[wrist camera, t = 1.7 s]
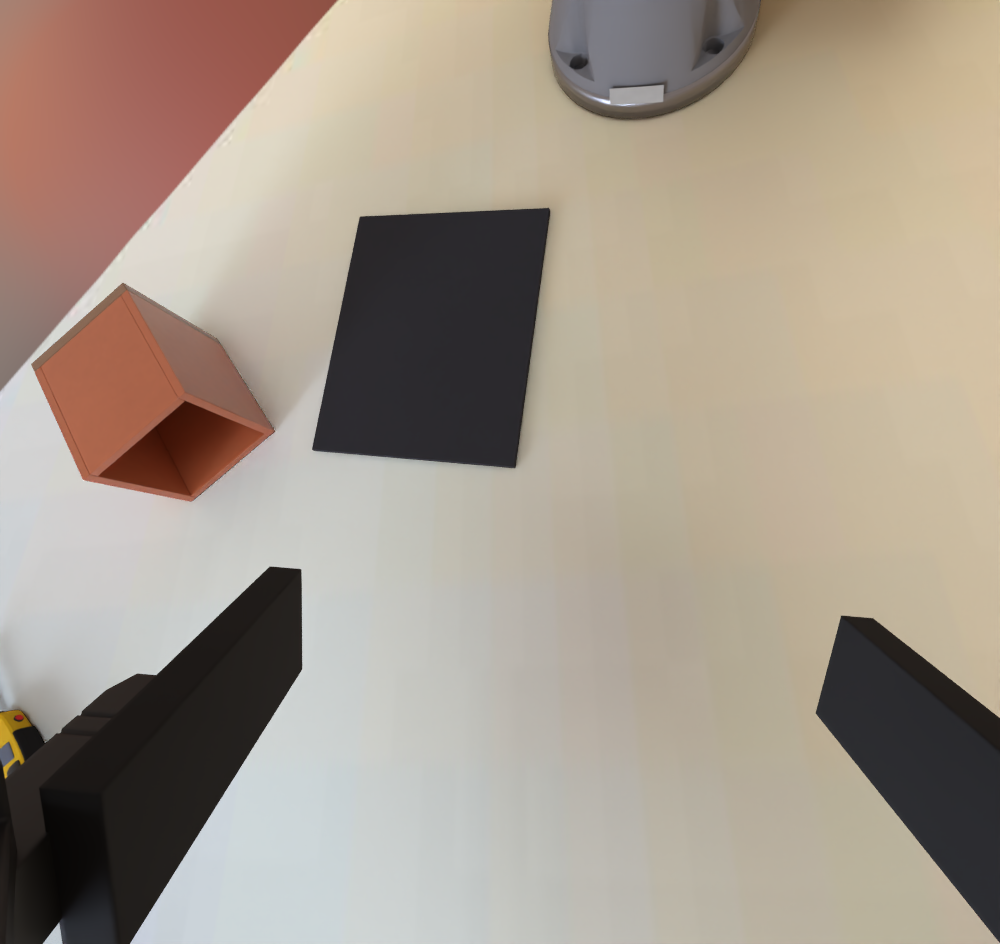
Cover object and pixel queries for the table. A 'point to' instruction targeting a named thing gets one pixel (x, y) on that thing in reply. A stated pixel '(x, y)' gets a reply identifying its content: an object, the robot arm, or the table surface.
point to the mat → (435, 337)
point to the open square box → (148, 399)
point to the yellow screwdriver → (16, 740)
